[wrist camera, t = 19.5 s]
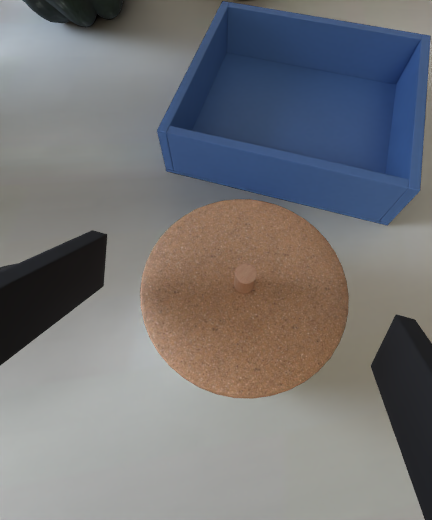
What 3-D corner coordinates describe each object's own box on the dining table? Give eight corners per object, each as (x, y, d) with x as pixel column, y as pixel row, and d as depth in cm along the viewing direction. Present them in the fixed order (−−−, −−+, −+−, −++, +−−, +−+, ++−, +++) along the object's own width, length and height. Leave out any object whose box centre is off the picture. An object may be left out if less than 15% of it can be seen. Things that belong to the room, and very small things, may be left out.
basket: (166, 171, 29) (156, 130, 25) (222, 49, 36) (222, 0, 31) (387, 225, 27) (420, 190, 22) (403, 83, 33) (431, 35, 29)
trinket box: (133, 324, 24) (83, 280, 15) (230, 229, 27) (234, 147, 18) (245, 437, 21) (263, 462, 12) (339, 314, 24) (407, 265, 15)
